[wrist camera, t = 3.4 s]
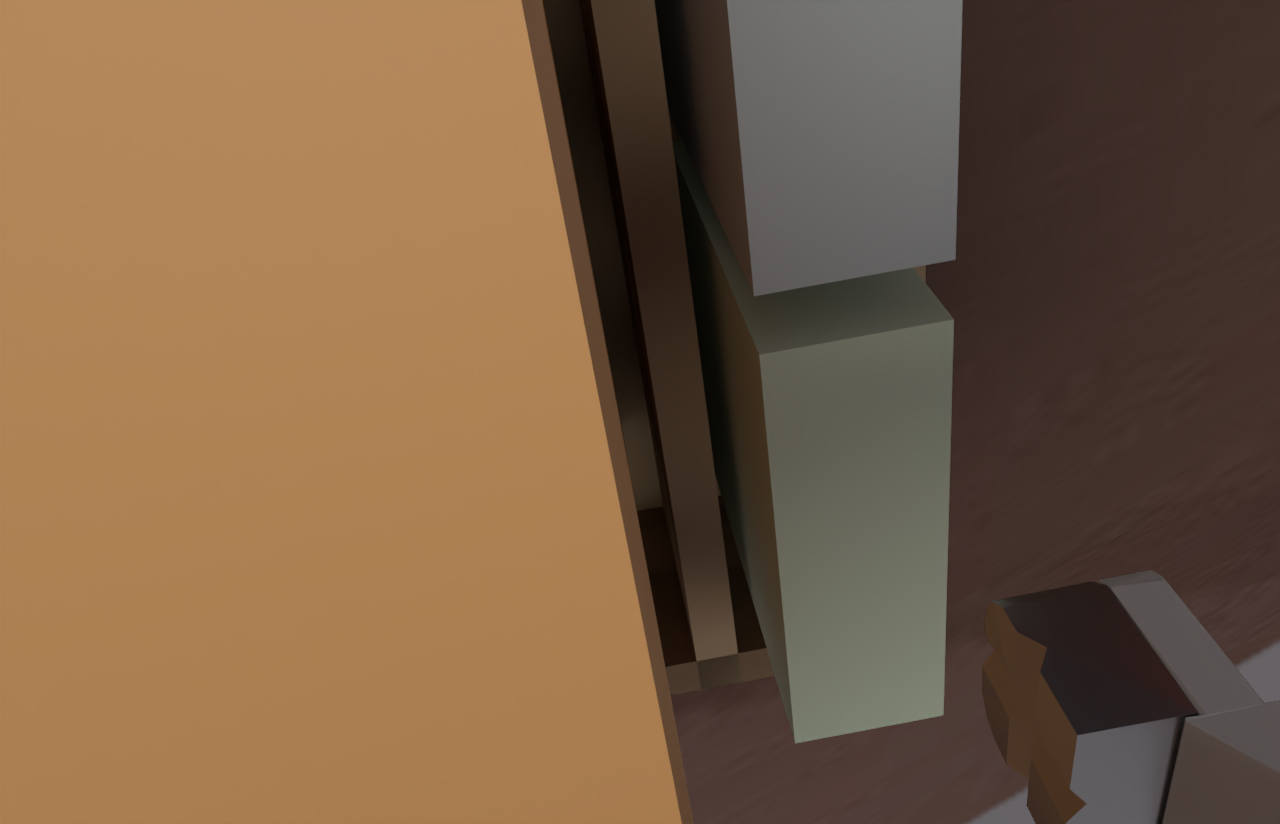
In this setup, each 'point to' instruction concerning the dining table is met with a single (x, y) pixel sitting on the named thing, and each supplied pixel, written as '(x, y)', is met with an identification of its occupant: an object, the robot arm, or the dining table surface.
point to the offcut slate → (820, 130)
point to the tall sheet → (310, 428)
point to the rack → (654, 335)
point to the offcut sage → (831, 474)
